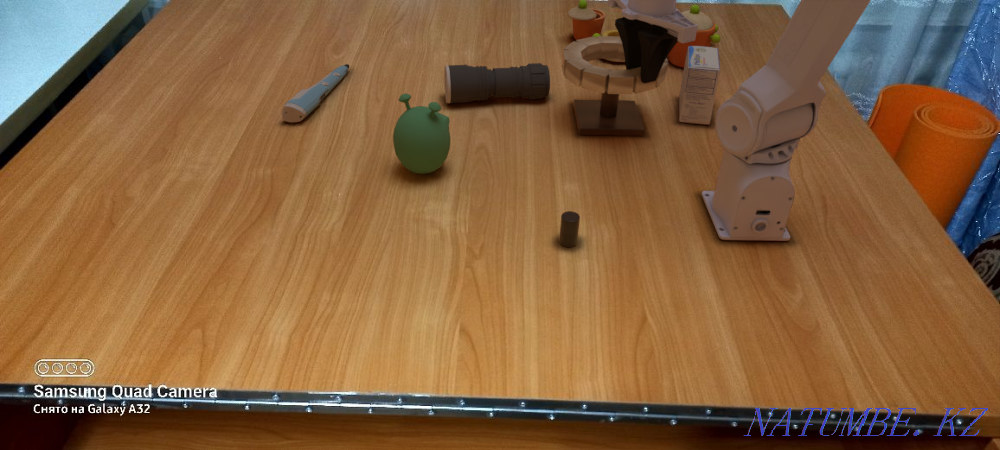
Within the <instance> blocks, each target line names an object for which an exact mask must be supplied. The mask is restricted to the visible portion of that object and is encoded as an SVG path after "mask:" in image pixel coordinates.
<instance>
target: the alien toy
mask: <svg viewBox="0 0 1000 450" xmlns="http://www.w3.org/2000/svg"><path fill="white" fill-rule="evenodd" d="M411 98H412V95H411V94H410V93H401V94H400V96H399V97H398V102H401V103H404V105H405V108H406V110H405V111H404V112H403V113H402V114H401V115H400V116H399V117H398V119H397V121H396V123H395V125H394V130H393V134H392V141H393V142H392V143H393V149H394V152H395V155H396V157H397V159H398V161H399V162H400V163H401V165H402V166H403V167H404V168H405V169H406V170H408V171H410V172H412V173H415V174H419V175H423V174H424V175H425V174H430V173H433V172H435V171H437V170H438V169H439V168H440V167H442V165H443V164H444V163H445V162H446V160H447V158H448V156H449V152H450V149H451V133H450V117H449V116H447V115H445V114H442V113H441V112H440V111H441V110H442V105H441V104H439V103H438V102H437V101H432V102H429V103H428V106H425V105H424V106H423V105H418V106H413V107H411V105H410V103H409V102H410V100H411Z"/></svg>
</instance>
